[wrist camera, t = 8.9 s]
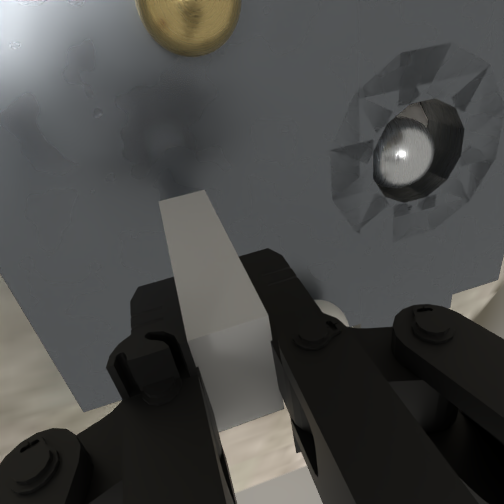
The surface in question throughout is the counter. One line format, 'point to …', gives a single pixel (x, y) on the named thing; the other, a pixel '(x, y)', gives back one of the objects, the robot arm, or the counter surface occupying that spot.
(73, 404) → the counter surface
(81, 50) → the grey flat block
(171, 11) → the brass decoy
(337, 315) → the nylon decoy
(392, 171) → the steel ball
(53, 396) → the counter surface
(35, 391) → the counter surface
